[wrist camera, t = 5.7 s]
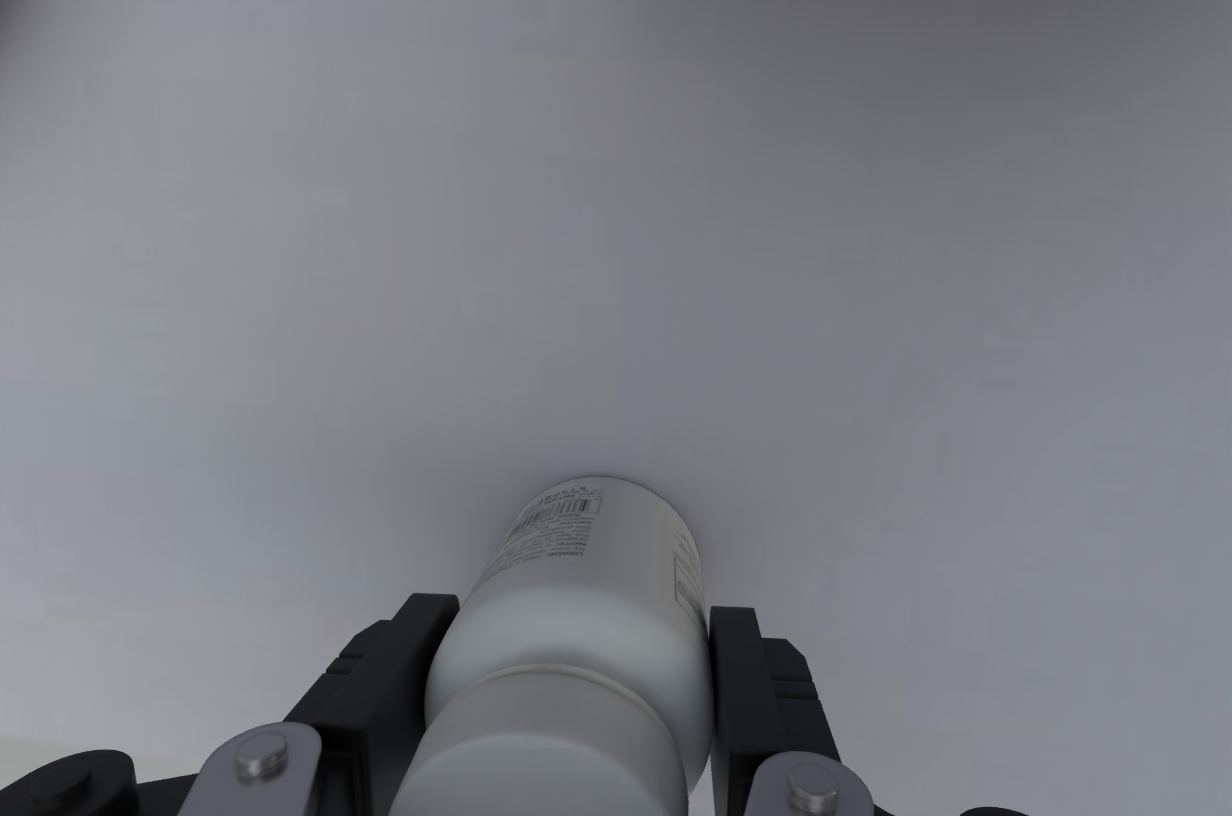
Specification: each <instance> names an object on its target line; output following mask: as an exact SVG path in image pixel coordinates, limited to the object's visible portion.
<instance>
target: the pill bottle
mask: <svg viewBox="0 0 1232 816" xmlns="http://www.w3.org/2000/svg"><path fill="white" fill-rule="evenodd" d="M424 716H425V726H426V732H425V734H424V736H423V737H422V739H421V741H420V743H419V746H418V748H417V750H416V753H415V755H414V758H413V760H412V762H411V764H410V766H409V768H408V770H407V773H406V775H405V777H404V779H403V781H402V783H401V785H400V788H399V790H398V792H397V794H396V797H395V799H394V801H393V803H392V806H391V809H390V812H389V815H388V816H688V804H689V801H688V796H689V795H690V794H691V792H692V791H693V790H694V788H695V786H696V784H697V782H698V780H699V779H700V777H701V775H702V773H703V771H704V768H705V766H706V763H707V760H708V757H709V753H710V749H711V744H712V740H713V733H714V725H715V707H714V688H713V675H712V666H711V656H710V647H709V638H708V626H707V620H706V612H705V602H704V592H703V583H702V575H701V568H700V561H699V556H698V552H697V548H696V545H695V543H694V540H693V537H692V535H691V533H690V531H689V529H688V528H687V526H686V524H685V523H684V521H683V519H682V518H681V517H680V516H679V515H678V513H677V512H676V511H675V510H674V509H673V508H672V507H671V506H670V505H669V504H668V503H667V502H665V501H664V500H663V499H661V498H660V497H659V496H657V495H656V494H654V493H653V492H651V491H649V490H647V489H645V488H643V487H641V486H639V485H636V484H634V483H631V482H628V481H625V480H620V479H616V478H609V477H601V476H600V477H584V478H579V479H574V480H570V481H566V482H563V483H561V484H558V485H556V486H554V487H552V488H549V489H547V490H545V491H544V492H542V493H541V494H539V495H538V496H536V497H535V498H534V499H533V500H532V501H530V502H529V503H528V504H527V505H526V506H525V507H524V509H523V510H522V511H521V512H520V513H519V514H518V516H517V517H516V518H515V520H514V521H513V523H512V525H511V526H510V527H509V529H508V530H507V532H506V534H505V536H504V538H503V540H502V541H501V543H500V545H499V546H498V548H497V550H496V551H495V553H494V555H493V556H492V558H491V560H490V561H489V563H488V564H487V566H486V568H485V569H484V571H483V573H482V574H481V576H480V578H479V579H478V581H477V583H476V584H475V586H474V588H473V590H472V591H471V593H470V594H469V596H468V598H467V599H466V601H465V602H464V604H463V606H462V607H461V609H460V610H459V612H458V614H457V615H456V617H455V619H454V620H453V622H452V624H451V626H450V627H449V629H448V631H447V632H446V634H445V636H444V638H443V640H442V642H441V644H440V646H439V648H438V650H437V652H436V654H435V656H434V659H433V661H432V664H431V667H430V670H429V674H428V679H427V683H426V688H425V698H424Z"/></svg>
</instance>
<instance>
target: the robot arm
mask: <svg viewBox="0 0 1232 816" xmlns="http://www.w3.org/2000/svg"><path fill="white" fill-rule="evenodd" d="M459 610H460V605H459V600H458V598H457V596H456V595H452V594H428V593H413V594H412V595H411V596H410V597H409V598H408V600H407V601H406V602H405V603H404V605H403V606H402V607H401V609H400V610H399V611H398V612H397V614H396V615H395V616H394V618H393V619H392V620H379V621H378V622H376V623H374V624H373V625H371V626H370V627H368V628H366V629H365V630H363V631H361V632H360V633H358V634H357V635H355V636H354V637H353V639H352V640H351V641H350V642H349V643H348V644H347V646H346V647H345V648H344V649H343V650H342V651H341V653H340V654H339V658H336V659H335V660H334V661H333V662H332V663H331V664H330V666H329V667H328V668H327V669H326V673H325V674H322V675H321V676H320V677H319V679H318V680H317V681H316V682H315V683H314V684H313V686H312V687H311V688H310V689H309V690H308V692H307V693H306V694H305V695H304V696H303V697H302V699H301V700H300V701H299V702H298V703H297V705H296V706H295V707H294V708H293V709H292V710H291V712H290V713H289V714H288V715H287V716H286V717H285V719H284V720H283V721H282V722H276V723H271V724H266V725H262V726H259V727H256V728H253V729H250V730H247V731H245V732H243V733H241V734H239V735H237V736H235V737H233V738H232V739H230V740H228V741H227V742H225V743H224V744H223V745H221V746H220V747H219V748H217V749H216V750H215V751H214V752H213V753H212V754H211V755H210V756H209V757H208V759H207V760H206V761H205V763H204V764H203V766H202V768H201V770H200V772H199V773H197V774H192V775H187V776H180V777H175V778H170V779H163V780H158V781H152V782H146V783H141V784H137V782H136V776H135V770H134V764H133V761H132V759H131V758H130V757H129V755H127V754H125V753H123V752H121V751H117V750H107V749H106V750H93V751H86V752H82V753H78V754H74V755H71V756H67V757H64V758H61V759H59V760H56V761H54V762H51V763H49V764H47V765H44V766H42V767H40V768H38V769H36V770H34V771H33V772H31V773H29V774H27V775H25V776H24V777H22V778H21V779H19V780H17V781H15V782H14V783H12V784H10V785H9V786H7V787H5V788H4V789H2V790H0V816H388V815H389V812H390V809H391V806H392V803H393V801H394V799H395V797H396V794H397V792H398V790H399V788H400V785H401V783H402V781H403V779H404V777H405V775H406V773H407V770H408V768H409V766H410V764H411V762H412V760H413V758H414V755H415V753H416V750H417V748H418V746H419V743H420V741H421V739H422V737H423V736H424V734H425V732H426V726H425V716H424V698H425V688H426V683H427V679H428V674H429V670H430V667H431V664H432V661H433V659H434V656H435V654H436V652H437V650H438V648H439V646H440V644H441V642H442V640H443V638H444V636H445V634H446V632H447V631H448V629H449V627H450V626H451V624H452V622H453V620H454V619H455V617H456V615H457V614H458V612H459ZM709 647H710V656H711V666H712V675H713V688H714V707H715V725H714V733H713V740H712V744H711V749H710V759H711V770H712V782H713V794H714V806H715V816H894V815H892V814H890V813H888V812H886V811H884V810H883V809H881V808H879V807H878V806H876V805H875V804H873V800H872V797H871V794H870V792H869V790H868V788H867V786H866V785H865V784H864V782H863V781H862V780H861V779H860V778H859V777H858V776H857V775H856V774H855V773H854V772H853V771H851V770H850V769H849V768H847V767H846V766H845V765H843V764H842V762H841V760H840V757H839V754H838V751H837V748H836V745H835V742H834V739H833V737H832V734H831V731H830V728H829V725H828V722H827V719H826V717H825V714H824V711H823V708H822V705H821V702H820V700H818V694H817V691H816V688H815V685H814V682H812V676H811V673H810V671H809V668H808V665H807V662H806V659H805V657H804V656H803V655H802V654H801V653H800V652H799V651H798V650H797V649H796V648H795V647H794V646H793V645H792V644H791V643H790V642H789V641H788V640H787V639H777V638H761V634H760V630H759V626H758V622H757V618H756V614H755V610H754V608H746V607H723V606H711V610H710V626H709ZM960 816H1028V815H1025V814H1023V813H1020V812H1017V811H1013V810H1009V809H1004V808H998V807H979V808H974V809H970V810H967V811H966V812H964V813H962V814H961V815H960Z"/></svg>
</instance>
